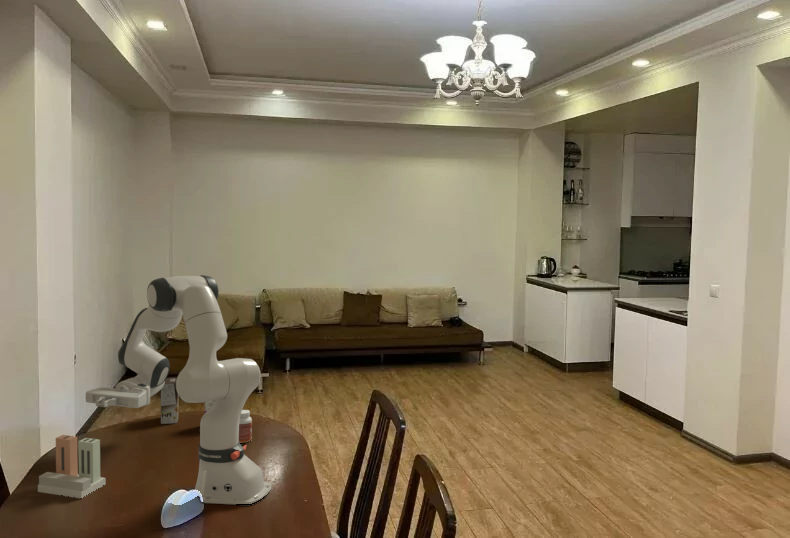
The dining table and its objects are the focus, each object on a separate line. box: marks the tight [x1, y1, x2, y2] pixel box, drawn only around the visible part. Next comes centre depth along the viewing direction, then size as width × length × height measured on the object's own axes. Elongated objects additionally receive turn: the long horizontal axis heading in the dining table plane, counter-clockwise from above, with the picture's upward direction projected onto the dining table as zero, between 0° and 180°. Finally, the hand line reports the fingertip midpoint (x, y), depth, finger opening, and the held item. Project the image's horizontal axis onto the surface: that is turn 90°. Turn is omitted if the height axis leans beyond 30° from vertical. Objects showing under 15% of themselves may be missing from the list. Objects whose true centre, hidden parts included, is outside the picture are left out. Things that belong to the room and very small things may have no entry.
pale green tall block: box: [77, 437, 101, 483], centre depth 186 cm, size 5×3×12 cm, turn 76°
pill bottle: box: [239, 409, 253, 443], centre depth 226 cm, size 6×6×11 cm
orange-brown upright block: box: [55, 434, 79, 476], centre depth 188 cm, size 5×3×12 cm, turn 76°
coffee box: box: [160, 376, 180, 425], centre depth 247 cm, size 9×6×16 cm
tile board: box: [37, 471, 107, 499], centre depth 185 cm, size 15×10×4 cm, turn 76°
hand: (100, 404), depth 201 cm, fingers closed
